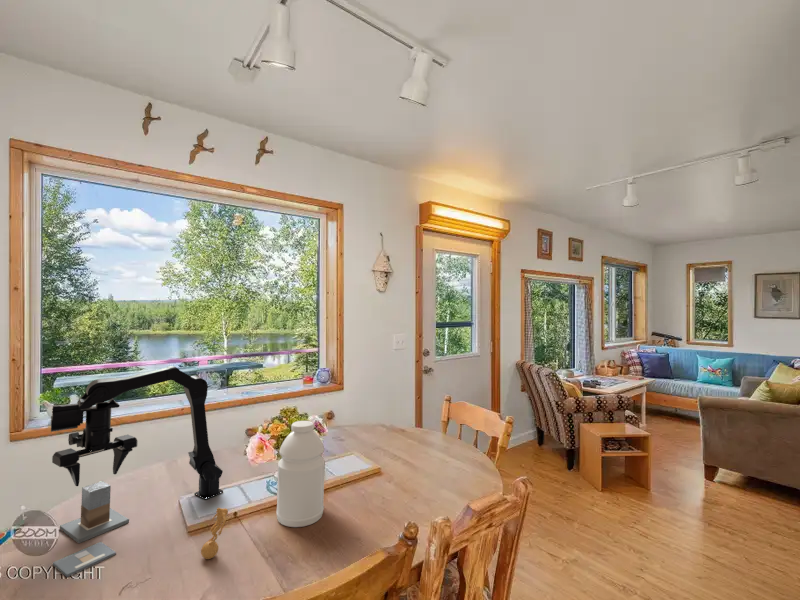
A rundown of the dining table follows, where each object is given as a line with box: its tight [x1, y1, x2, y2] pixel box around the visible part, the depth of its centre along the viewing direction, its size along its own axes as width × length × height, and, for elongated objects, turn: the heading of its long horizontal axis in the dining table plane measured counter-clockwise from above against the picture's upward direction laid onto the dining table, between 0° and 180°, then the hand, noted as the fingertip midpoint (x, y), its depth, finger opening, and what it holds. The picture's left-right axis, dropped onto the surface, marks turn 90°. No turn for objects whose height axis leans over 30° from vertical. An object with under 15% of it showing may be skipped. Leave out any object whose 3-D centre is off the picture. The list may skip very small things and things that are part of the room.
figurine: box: [200, 507, 229, 560], centre depth 101 cm, size 8×6×12 cm
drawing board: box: [52, 541, 117, 578], centre depth 98 cm, size 8×10×1 cm
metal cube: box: [80, 480, 112, 510], centre depth 113 cm, size 5×5×5 cm
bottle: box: [275, 420, 326, 528], centre depth 121 cm, size 14×14×28 cm
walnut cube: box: [80, 502, 111, 528], centre depth 113 cm, size 5×5×5 cm
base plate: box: [59, 507, 130, 544], centre depth 113 cm, size 12×12×1 cm
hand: (96, 479), depth 113 cm, fingers open, 9 cm apart
